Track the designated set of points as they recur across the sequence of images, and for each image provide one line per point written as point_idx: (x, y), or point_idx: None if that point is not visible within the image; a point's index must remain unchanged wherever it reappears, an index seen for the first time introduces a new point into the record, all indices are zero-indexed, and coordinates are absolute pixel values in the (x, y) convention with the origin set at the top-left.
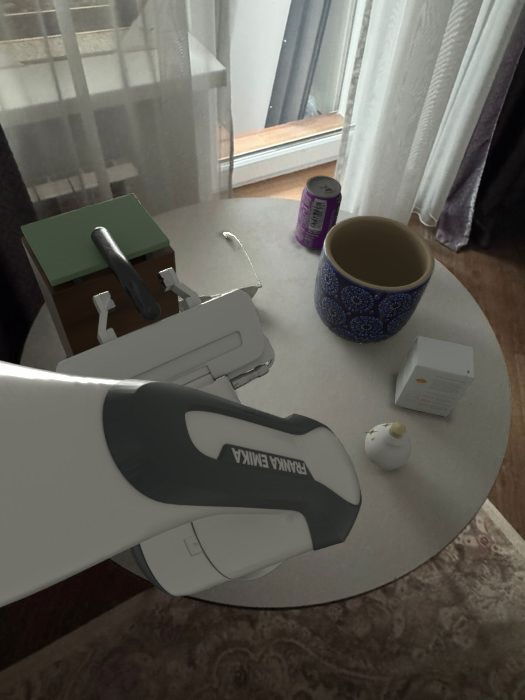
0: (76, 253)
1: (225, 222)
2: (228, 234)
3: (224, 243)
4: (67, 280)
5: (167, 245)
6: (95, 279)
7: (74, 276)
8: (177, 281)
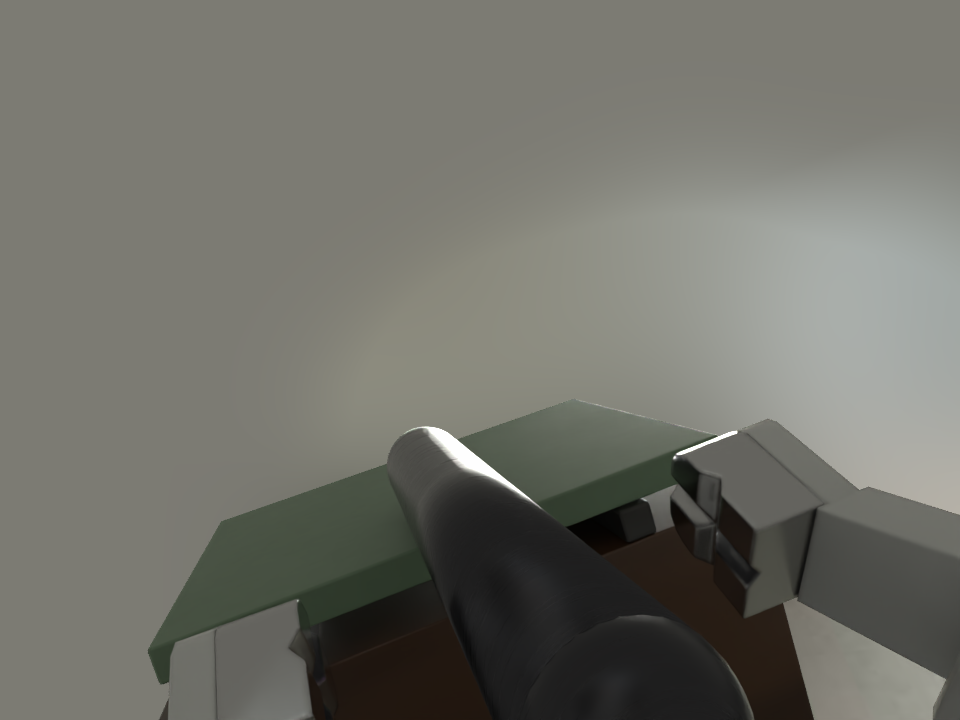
0: (327, 544)
1: None
2: None
3: (896, 654)
4: None
5: None
6: (380, 646)
7: None
8: (837, 483)
